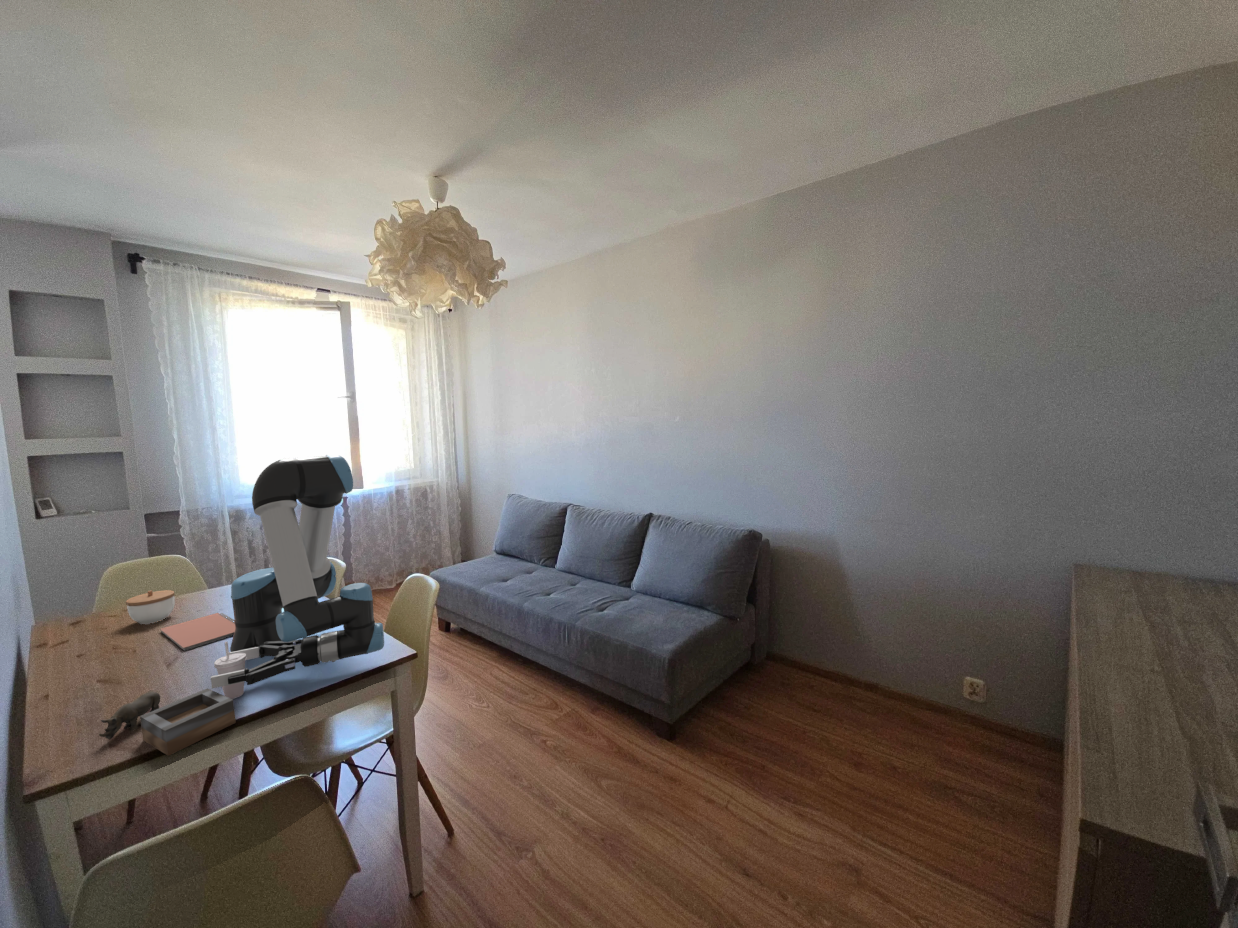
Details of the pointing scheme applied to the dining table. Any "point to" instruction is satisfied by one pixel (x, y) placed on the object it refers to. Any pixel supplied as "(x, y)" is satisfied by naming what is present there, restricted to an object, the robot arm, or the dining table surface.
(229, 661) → the smoothie
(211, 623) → the notebook
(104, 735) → the rhino figurine
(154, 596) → the lidded bowl
